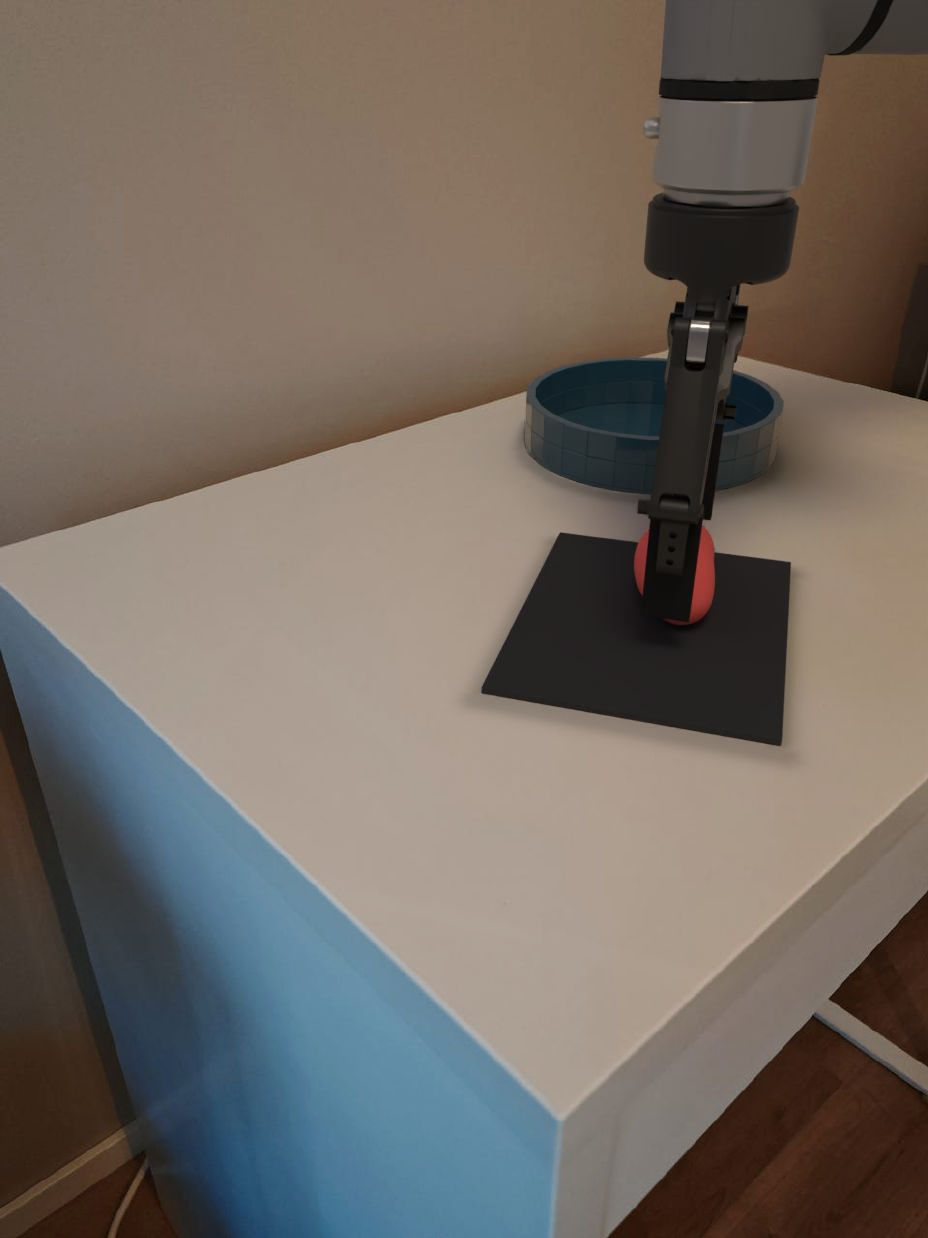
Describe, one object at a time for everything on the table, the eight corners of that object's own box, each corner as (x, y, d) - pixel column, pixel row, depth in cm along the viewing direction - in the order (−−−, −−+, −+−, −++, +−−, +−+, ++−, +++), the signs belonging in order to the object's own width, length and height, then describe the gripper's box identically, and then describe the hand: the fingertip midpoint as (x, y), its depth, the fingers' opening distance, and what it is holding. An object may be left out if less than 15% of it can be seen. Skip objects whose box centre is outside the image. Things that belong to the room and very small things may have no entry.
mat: (790, 566, 66) (791, 561, 65) (781, 746, 49) (782, 739, 49) (559, 536, 70) (559, 531, 70) (481, 693, 53) (481, 687, 53)
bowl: (779, 414, 91) (787, 367, 89) (769, 508, 74) (779, 452, 71) (555, 394, 97) (556, 349, 94) (496, 476, 79) (497, 424, 77)
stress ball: (599, 629, 61) (633, 576, 55) (638, 527, 66) (672, 469, 60) (675, 664, 60) (716, 613, 55) (708, 559, 65) (749, 503, 60)
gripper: (678, 161, 60) (647, 477, 71) (607, 232, 40) (580, 658, 51) (804, 164, 58) (752, 489, 69) (796, 241, 38) (725, 682, 49)
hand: (679, 561), depth 60 cm, fingers open, 13 cm apart
